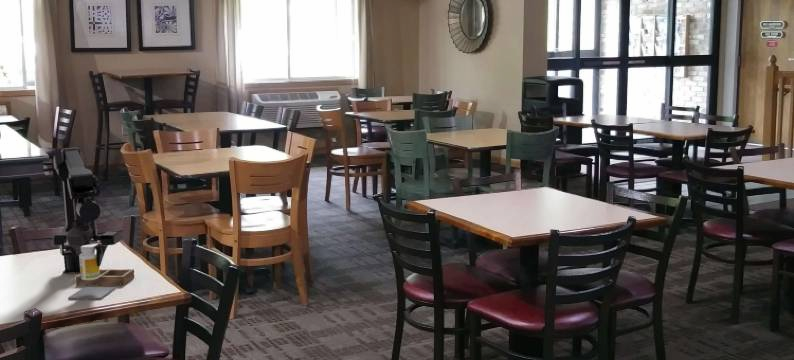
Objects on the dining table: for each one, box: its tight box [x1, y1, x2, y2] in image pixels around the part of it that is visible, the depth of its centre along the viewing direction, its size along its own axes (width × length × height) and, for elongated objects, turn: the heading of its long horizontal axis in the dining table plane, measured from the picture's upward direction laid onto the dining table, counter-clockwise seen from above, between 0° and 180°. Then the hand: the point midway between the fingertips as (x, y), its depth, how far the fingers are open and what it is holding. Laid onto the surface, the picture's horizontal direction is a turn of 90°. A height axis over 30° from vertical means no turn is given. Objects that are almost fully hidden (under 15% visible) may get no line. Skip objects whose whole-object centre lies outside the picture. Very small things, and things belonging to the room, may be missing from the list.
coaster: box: [67, 286, 116, 301], centre depth 258 cm, size 10×10×1 cm
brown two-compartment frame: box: [75, 268, 135, 286], centre depth 270 cm, size 15×8×3 cm, turn 84°
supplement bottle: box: [79, 244, 100, 280], centre depth 256 cm, size 5×5×10 cm
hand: (89, 266), depth 256 cm, fingers closed on supplement bottle, 5 cm apart
